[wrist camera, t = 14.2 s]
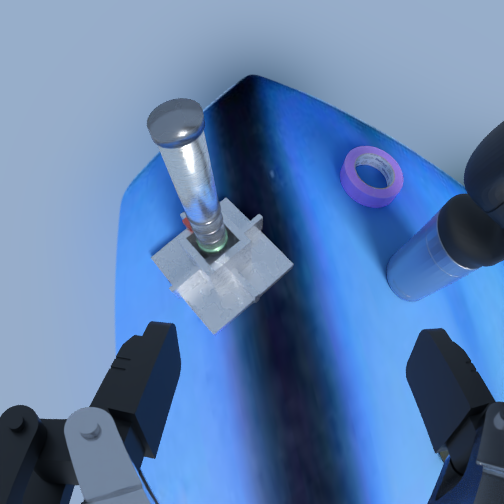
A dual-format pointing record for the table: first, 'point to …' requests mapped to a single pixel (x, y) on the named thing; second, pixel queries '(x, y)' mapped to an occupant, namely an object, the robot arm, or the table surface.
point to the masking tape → (362, 190)
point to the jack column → (190, 169)
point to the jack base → (223, 268)
